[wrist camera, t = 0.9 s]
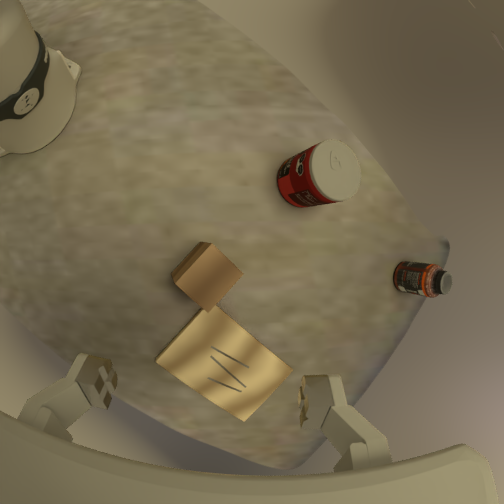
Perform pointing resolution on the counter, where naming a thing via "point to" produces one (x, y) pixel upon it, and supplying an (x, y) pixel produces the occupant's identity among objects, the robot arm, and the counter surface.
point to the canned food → (320, 175)
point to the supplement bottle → (422, 279)
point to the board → (224, 363)
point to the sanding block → (206, 275)
